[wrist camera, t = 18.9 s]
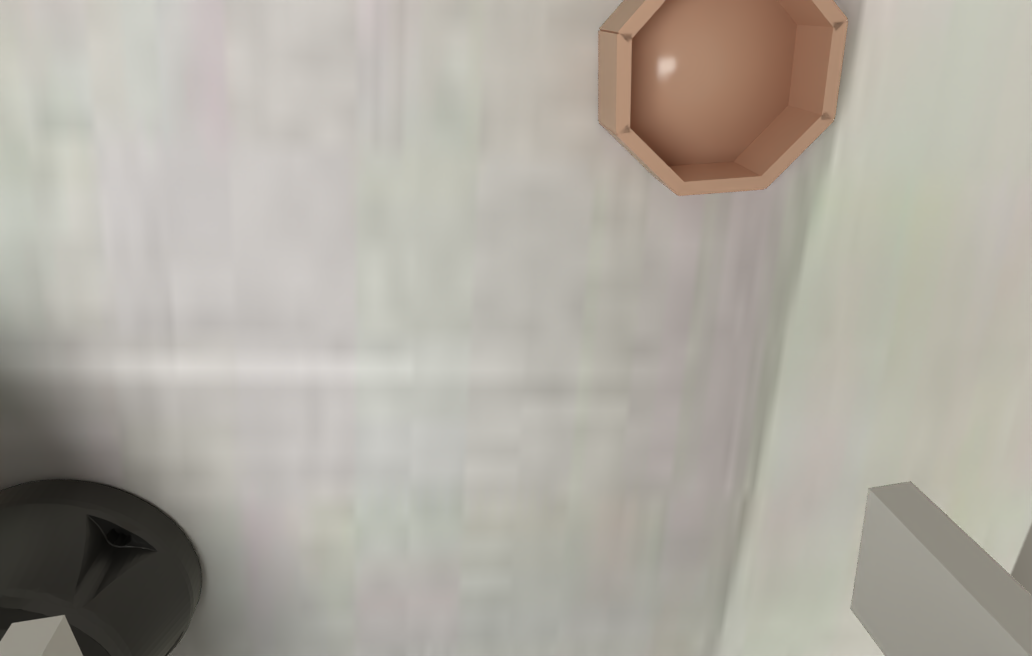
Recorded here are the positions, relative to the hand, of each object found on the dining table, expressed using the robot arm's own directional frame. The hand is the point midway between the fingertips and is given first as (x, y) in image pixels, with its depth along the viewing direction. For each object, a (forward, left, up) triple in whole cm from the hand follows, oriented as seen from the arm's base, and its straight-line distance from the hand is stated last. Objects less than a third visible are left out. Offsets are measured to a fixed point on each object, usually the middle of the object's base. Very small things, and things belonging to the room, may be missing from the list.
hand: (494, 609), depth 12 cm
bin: (+14, +5, -30) cm, 34 cm away
